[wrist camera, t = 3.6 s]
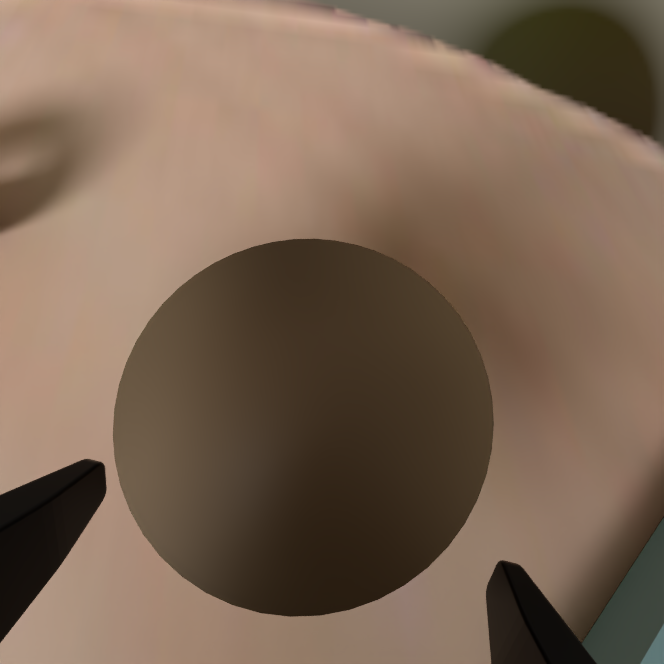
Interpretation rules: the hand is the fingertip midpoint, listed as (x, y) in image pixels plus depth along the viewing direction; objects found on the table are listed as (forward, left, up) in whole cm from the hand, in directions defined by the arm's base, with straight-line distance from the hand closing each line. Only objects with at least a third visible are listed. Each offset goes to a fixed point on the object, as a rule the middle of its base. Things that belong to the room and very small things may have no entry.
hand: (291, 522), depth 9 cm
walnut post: (+1, +2, -9) cm, 10 cm away
